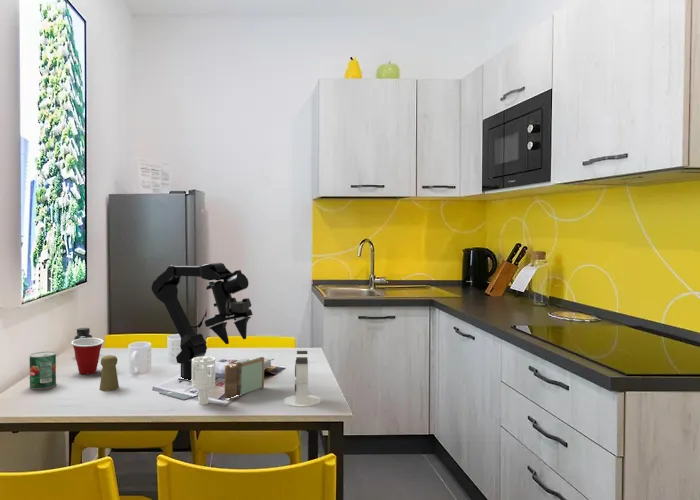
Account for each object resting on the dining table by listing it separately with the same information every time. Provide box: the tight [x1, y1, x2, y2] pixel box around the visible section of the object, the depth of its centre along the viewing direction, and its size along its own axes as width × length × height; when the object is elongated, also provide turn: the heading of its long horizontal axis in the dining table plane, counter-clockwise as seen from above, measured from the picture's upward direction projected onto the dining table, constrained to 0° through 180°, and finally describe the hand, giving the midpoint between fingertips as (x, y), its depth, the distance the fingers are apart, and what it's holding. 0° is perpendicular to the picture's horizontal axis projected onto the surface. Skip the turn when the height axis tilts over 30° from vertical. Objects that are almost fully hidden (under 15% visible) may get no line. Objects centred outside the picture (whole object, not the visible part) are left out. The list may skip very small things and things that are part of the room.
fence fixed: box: [224, 362, 242, 399], centre depth 181 cm, size 2×6×11 cm, turn 147°
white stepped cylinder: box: [191, 355, 216, 406], centre depth 175 cm, size 7×7×15 cm
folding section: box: [241, 356, 265, 395], centre depth 189 cm, size 2×11×10 cm, turn 147°
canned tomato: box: [29, 351, 57, 390], centre depth 191 cm, size 8×8×11 cm
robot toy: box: [233, 357, 275, 368], centre depth 215 cm, size 12×4×15 cm
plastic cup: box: [71, 337, 104, 375], centre depth 209 cm, size 11×11×12 cm
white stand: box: [283, 350, 321, 408], centre depth 179 cm, size 12×11×15 cm
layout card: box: [158, 390, 193, 401], centre depth 185 cm, size 12×9×1 cm
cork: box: [99, 354, 120, 392], centre depth 190 cm, size 6×6×11 cm
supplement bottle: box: [73, 327, 94, 359], centre depth 232 cm, size 7×7×12 cm
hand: (236, 341), depth 193 cm, fingers open, 9 cm apart
